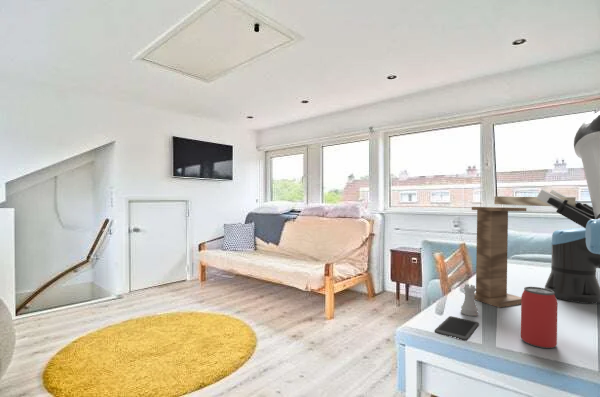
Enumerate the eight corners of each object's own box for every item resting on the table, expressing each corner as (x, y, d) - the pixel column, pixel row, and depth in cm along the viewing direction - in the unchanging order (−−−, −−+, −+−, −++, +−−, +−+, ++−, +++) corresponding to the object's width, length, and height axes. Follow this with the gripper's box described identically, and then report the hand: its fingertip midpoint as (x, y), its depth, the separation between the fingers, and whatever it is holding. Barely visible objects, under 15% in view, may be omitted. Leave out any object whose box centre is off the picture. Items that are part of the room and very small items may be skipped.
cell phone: (433, 333, 78) (433, 330, 78) (449, 318, 89) (449, 315, 89) (466, 342, 74) (466, 339, 74) (479, 325, 84) (479, 322, 84)
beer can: (524, 346, 71) (525, 291, 71) (517, 334, 78) (518, 284, 78) (561, 352, 69) (562, 295, 69) (551, 339, 75) (551, 288, 75)
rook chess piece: (471, 317, 89) (472, 288, 89) (457, 312, 93) (457, 284, 93) (481, 315, 91) (482, 286, 91) (467, 310, 95) (467, 282, 95)
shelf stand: (524, 303, 102) (526, 207, 102) (499, 307, 97) (501, 207, 97) (494, 294, 111) (495, 207, 111) (470, 298, 106) (471, 206, 106)
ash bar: (575, 206, 87) (575, 197, 87) (566, 206, 85) (566, 197, 85) (502, 204, 105) (502, 196, 105) (494, 204, 104) (494, 196, 104)
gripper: (611, 259, 72) (518, 204, 90) (648, 255, 79) (554, 205, 97) (635, 232, 68) (533, 181, 87) (671, 230, 75) (569, 183, 94)
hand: (544, 194), depth 92 cm, fingers closed on ash bar, 4 cm apart
